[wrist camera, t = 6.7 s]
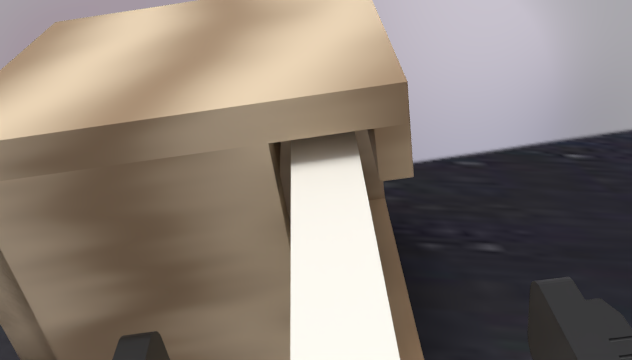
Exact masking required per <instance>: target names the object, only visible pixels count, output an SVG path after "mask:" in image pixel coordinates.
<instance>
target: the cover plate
mask: <svg viewBox="0 0 632 360" xmlns="http://www.w3.org/2000/svg"><path fill="white" fill-rule="evenodd" d="M290 360H400V357H399V352H398V347H397V342H396V337H395V332H394V326H393V321H392V316H391V311H390V306H389V301H388V296H387V291H386V286H385V281H384V276H383V271H382V266H381V261H380V256H379V251H378V246H377V241H376V236H375V231H374V226H373V221H372V216H371V211H370V206H369V201H368V196H367V191H366V186H365V181H364V176H363V171H362V165H361V160H360V155H359V150H358V145H357V140H356V135H355V131H353V132H346V133H339V134H332V135H324V136H317V137H310V138H303V139H296V140H291V306H290Z"/></svg>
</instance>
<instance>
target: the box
mask: <svg viewBox="0 0 632 360" xmlns="http://www.w3.org/2000/svg"><path fill="white" fill-rule="evenodd" d="M353 131H355V135H356V140H357V145H358V150H359V155H360V160H361V165H362V171H363V176H364V181H365V186H366V191H367V196H368V201H369V206H370V211H371V216H372V221H373V226H374V231H375V236H376V241H377V246H378V251H379V256H380V261H381V266H382V271H383V276H384V281H385V286H386V291H387V296H388V301H389V306H390V311H391V316H392V321H393V326H394V332H395V337H396V342H397V347H398V352H399V357H400V360H424V358H423V354H422V350H421V346H420V341H419V337H418V333H417V329H416V325H415V321H414V317H413V313H412V308H411V304H410V300H409V296H408V292H407V288H406V284H405V280H404V275H403V271H402V267H401V263H400V259H399V255H398V251H397V247H396V242H395V238H394V234H393V230H392V226H391V222H390V218H389V214H388V210H387V205H386V201H385V196H384V186H383V181H387V180H394V179H401V178H409V177H414V175H413V160H412V145H411V131H410V115H409V100H408V84H407V80H406V77H405V75H404V73H403V70H402V68H401V66H400V63H399V61H398V59H397V57H396V54H395V52H394V50H393V48H392V45H391V43H390V40H389V38H388V36H387V34H386V31H385V29H384V27H383V24H382V22H381V20H380V17H379V15H378V13H377V10H376V8H375V6H374V4H373V1H372V0H198V1H192V2H185V3H178V4H172V5H165V6H159V7H152V8H145V9H139V10H133V11H126V12H120V13H113V14H106V15H99V16H93V17H86V18H80V19H73V20H67V21H60V22H55V23H54V24H53V25H52V26H51V27H49V28H48V29H47V30H46V31H45V32H44V33H43V34H42V35H40V36H39V37H38V38H37V39H36V40H34V41H33V42H32V43H31V44H30V45H29V46H28V47H27V48H25V49H24V50H23V51H22V52H21V53H20V54H18V55H17V56H16V57H15V58H14V59H13V60H12V61H10V62H9V63H8V64H7V65H6V66H5V67H4V68H2V70H0V324H1V326H2V328H3V329H4V331H5V333H6V335H7V337H8V338H9V340H10V342H11V344H12V345H13V347H14V349H15V351H16V352H17V354H18V356H19V358H20V360H112V359H113V356H114V353H115V350H116V347H117V344H118V341H119V339H120V338H121V336H123V335H130V334H138V333H146V332H153V331H157V332H159V334H160V335H161V337H162V340H163V342H164V345H165V348H166V350H167V353H168V356H169V358H170V360H290V306H291V140H296V139H303V138H310V137H317V136H324V135H332V134H339V133H346V132H353Z"/></svg>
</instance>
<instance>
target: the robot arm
mask: <svg viewBox="0 0 632 360" xmlns="http://www.w3.org/2000/svg"><path fill="white" fill-rule="evenodd" d="M528 342H529V348H530V352H531V356H532V359H533V360H632V329H631V327H630V326H629V324H628V323H627V321H626V320H625V318H624V317H623V315H622V314H620V313H619V312H618V311H617V310H615V309H614V308H613V307H611V306H610V305H609V304H607V303H606V302H605V301H603V300H602V299H601V298H599V299H591V300H585V299H584V298H583V296H582V294H581V293H580V291H579V290H578V288H577V286H576V285H575V283H574V281H573V280H572V279H571V278H570V277H563V278H555V279H547V280H539V281H533V282H532V283H531V286H530V301H529V318H528ZM112 360H170V358H169V356H168V353H167V350H166V348H165V345H164V342H163V340H162V337H161V335H160V334H159V332H157V331H153V332H146V333H138V334H130V335H123V336H121V338H120V339H119V341H118V344H117V347H116V350H115V353H114V356H113V359H112Z"/></svg>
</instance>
